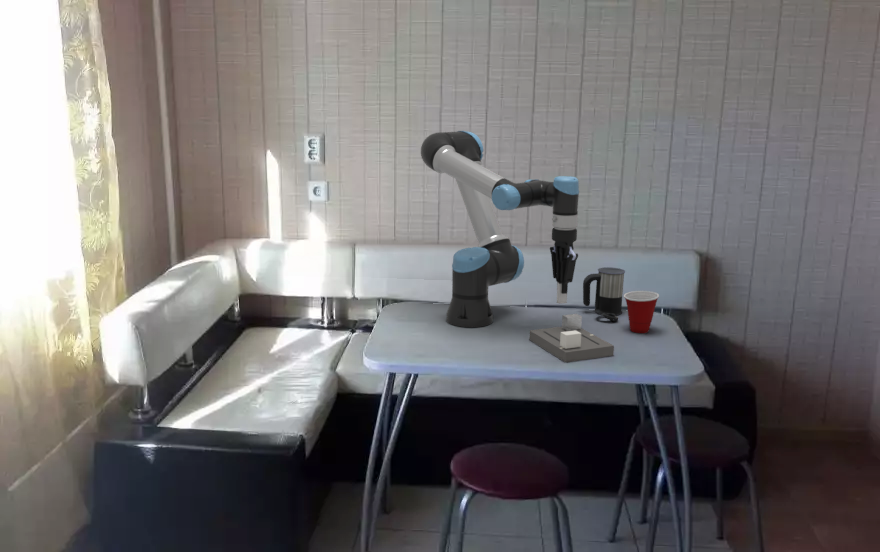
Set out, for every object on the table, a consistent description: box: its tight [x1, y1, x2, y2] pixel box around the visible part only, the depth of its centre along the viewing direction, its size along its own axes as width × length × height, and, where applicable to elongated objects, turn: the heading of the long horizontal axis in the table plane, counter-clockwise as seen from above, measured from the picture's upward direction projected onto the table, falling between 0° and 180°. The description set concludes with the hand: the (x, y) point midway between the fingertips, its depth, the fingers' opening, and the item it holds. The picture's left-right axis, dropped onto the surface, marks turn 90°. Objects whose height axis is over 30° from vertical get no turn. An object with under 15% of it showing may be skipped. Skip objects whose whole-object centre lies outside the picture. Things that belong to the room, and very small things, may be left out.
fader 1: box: [561, 313, 583, 331], centre depth 250 cm, size 3×5×4 cm, turn 113°
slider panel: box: [528, 326, 615, 363], centre depth 243 cm, size 21×16×3 cm
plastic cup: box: [623, 290, 660, 334], centre depth 258 cm, size 11×11×12 cm
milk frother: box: [582, 266, 626, 322], centre depth 273 cm, size 14×16×15 cm
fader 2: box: [560, 330, 581, 349], centre depth 234 cm, size 3×5×4 cm, turn 113°
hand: (561, 302), depth 254 cm, fingers closed
